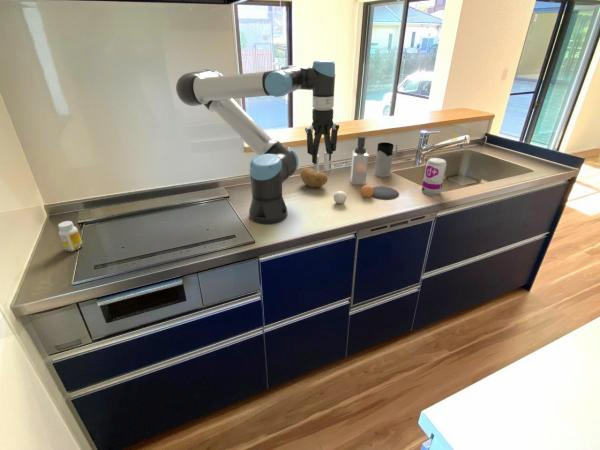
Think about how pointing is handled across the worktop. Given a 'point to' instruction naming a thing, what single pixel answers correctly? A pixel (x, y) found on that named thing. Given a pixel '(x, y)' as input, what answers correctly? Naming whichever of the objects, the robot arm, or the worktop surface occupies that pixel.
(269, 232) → the worktop surface
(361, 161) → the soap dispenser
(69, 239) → the supplement bottle
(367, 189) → the object ball
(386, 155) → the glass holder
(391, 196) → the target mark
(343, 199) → the cue ball
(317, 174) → the potato
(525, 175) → the worktop surface
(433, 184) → the supplement can
